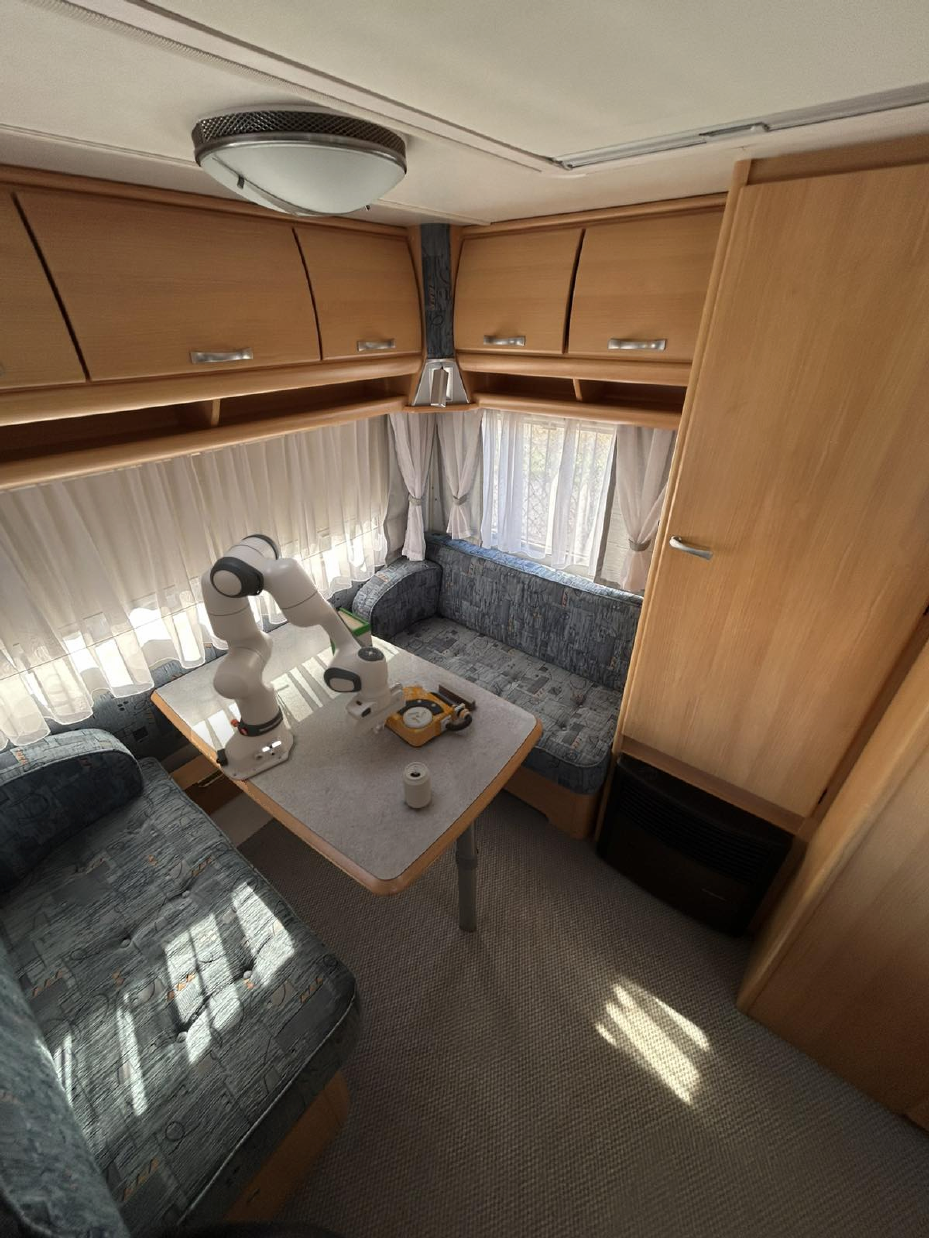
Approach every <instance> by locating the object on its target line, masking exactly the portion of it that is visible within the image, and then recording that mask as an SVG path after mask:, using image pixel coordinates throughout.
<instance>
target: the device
mask: <svg viewBox="0 0 929 1238" xmlns="http://www.w3.org/2000/svg"><path fill="white" fill-rule="evenodd" d="M403 693H404V697H405V702H406V704H405V706H404V707H403V708H402V709H400V710H399V711H397V712H396V713H394V714H393V715H391V716H390V717H388V718H387V720H386V723H385V725H386V726H387V727H389V728H390V729H391V730H392V731H393V732H394V733H396V735H398V736H400V737H401V738H402V739H404V740H405V741H406V742H407V743H408V744H410V745H412V746H414V747H418V746H421V745H424V744H426V742H428V741H429V740H431V739H433V738H434V737H437V736H438V735H440V734H441V733H443V732H444V731H446V730H448V731H451V732H460V731H463V730H465V729H466V728H468V727H470V725H471V724H472V723H473V717H472V714H471V712H470V710H468V709H467V708H465V704H463V703H462V704H458V705H455V704H454V703H452V702H451V701H449V700H448V699H447V698H445V697H444V696H442V695H441V694H440V693H438V692H435V691H427V690H425V689H423V687H422V685H421V684H419V683H418V684H416V685H414V686H406V687H403ZM457 720H460V721H461V722H460V723H457V724H456V721H457Z"/></svg>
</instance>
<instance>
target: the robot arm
mask: <svg viewBox="0 0 929 1238" xmlns="http://www.w3.org/2000/svg"><path fill="white" fill-rule="evenodd" d="M200 586H201V596H202V600H203V604H204V608H205V611H206V615H207V618H208V621H209V623H210V626H211V630H212V633H213V635H214V636H215V637H216V638H217V639H218V640H222V641H225V643H226V644H227V653H226V655H225V656H224V658H223V660H221V662H220V664H219V665H218V666H217V668H216V671H215V674H214V676H213V681H212V686H213V689H214V691H215V692H216V693H217V694H218V695H219V696H221V697H222V698H225V699H227V700H232V701H234V702H235V703H236V707H237V709H238V712H239V715H240V719H239V721H238V719H237V718H233V719H231V721H230V725H231V726H232V727H233V728H237V729H236V731H235V732H234V733H233V735H231V737H230V738H229V739H228V741H227V742H226V743H225V746H224V747H223V748H221V749H218V750H216V754H217V758H216V760H215V763H216V764H218V765H219V766H220V769H221V770H222V772H223V774H225V775H226V776H227V777H228V778H229V779H231V780H234V781H236V782H242V781H244V780H246V779H248V778H251V777H253V776H255V775H257V774H259V773H261V772H264V771H265V770H268V769H270V768H273V767H274V766H277V765H278V764H281V763H284V762H285V761H286V760H288V758H289V753H290V750H291V749H292V747H293V744H294V737H293V735H292V733H291V732H290V730H289V729H288V728H287V726H286V724H285V721H284V714H283V710H282V708H281V706H280V704H279V702H278V699H277V696H276V693H275V689H274V687H273V686H272V685H271V684H269V683H266V682H264V681H263V673H264V671H265V669H266V667H267V665H268V663H269V661H270V660H271V657H272V654H273V650H274V641H273V638H272V637H271V636H270V635H269V634H268V633H267V632H265V631H263V630H261V629H260V628H259V626H258V624H257V621H256V619H255V615H254V611H253V608H252V607H253V606H252V604H251V600H250V597H258V596H260V595H261V594H262V592H263V591H265V592H267V593H268V594H269V595H270V597H272V598H273V600H274V602H275V603H276V605H277V607H278V609H279V610H280V612H281V613H282V615H283V616H284V618H285V619H286V621H288V622H289V623H290V624H291V625H292V626H294V627H297V628H301V629H302V628H303V629H307V628H312V627H315V626H320V627H321V628H322V629H323V631H324V632H325V633H326V634H327V636H328V637H330V638H331V640H332V641H333V642H334V644H335V653H334V656H333V655H332V658H331V659H330V661H329V663H328V664H327V666H326V668H325V670H324V672H323V675H322V677H323V681H324V683H325V685H326V686H327V688H329V689H330V690H331V691H333V692H335V693H339V694H350V693H352V694H353V693H356V694H355V695H354V696H353V697H352V698H351V700H349V701H348V702H347V703H346V704H345V710H346V711H347V713H346V714H345V715H346V716H345V726H346V732H347V733H348V735H350V736H351V737H353V738H355V739H357V738H359V737H360V736H362V735H363V734H365V733H366V732H368V731H370V730H371V729H372V730H373V733H375V734H376V735H378V734H379V733H381V732H382V731H384V730H385V725H386V724H385V723H386V720H387V718H388V717H390V716H391V715H393V714H394V713H396V712H397V711H399V710H400V709H402V708H403V707H404V706H405V704H406V702H405V697H404V693H403V689H404V686H403V684H402V683H401V682H399V683H398V682H397V683H394V684H393V685H391V686H390V683H389V681H388V680H389V668H388V662H387V658H386V655H385V654H384V652H383V651H382V650H381V649H379V648H378V647H376V646H373V647H366V645H365V644H364V643H363V642H362V641H360V640H359V639H358V638H357V637H356V636H355V635H354V634H353V633H352V631H351V630H350V628H349V627H348V626H347V624H346V623H345V621H344V620H343V618H342V617H341V616H340V614H339V613H338V612H339V611H338V610H337V609H336V607H335V606H334V604H332V603H331V602H330V601H328V600H327V599H325V597H324V596H323V594H322V593H321V592H320V590H319V588H318V586H317V585H316V583H315V581H314V580H313V577H311V576H310V574H309V572H308V571H307V570H306V569H305V568H304V566H303V565H302V564H301V563H300V562H299V561H298V560H297V559H295V558H293V557H281V558H280V549H279V546H278V545H277V543H276V542H275V541H274V540H273V539H272V538H271V537H270V536H267V535H266V534H261V533H255V534H250V535H247V536H245V537H244V538H243V539H241V540H240V541H239V542H237V543H235V544H234V545H232V546H231V547H229V549H228V550H227V551H226V552H225V553H224V554H223V555H222V557H220V558H219V559H217V560H216V561H215V562H214V564H213V566H212V567H211V568H209V569H207V570H206V571H204V572H203V574H202V576H201V578H200ZM330 638H329V639H330Z"/></svg>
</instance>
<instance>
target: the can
mask: <svg viewBox="0 0 929 1238" xmlns="http://www.w3.org/2000/svg"><path fill="white" fill-rule="evenodd" d="M402 782H403V783H402V784H403V789H404V790H403V791H404V799H405V802H406V804H407V805H408V806H409V807H410V808H413V809H419V808H423V807H426V806H427V805H428V804H430V801H431V799H432V788H431V775H430V770H429V768H428V767H427V766H426V765H425V764H424V763H422V762H418V761H415V762H410V763H408V765H406V766H405V768H404V770H403V772H402Z"/></svg>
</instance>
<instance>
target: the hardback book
mask: <svg viewBox="0 0 929 1238" xmlns="http://www.w3.org/2000/svg"><path fill="white" fill-rule="evenodd" d="M338 613H339V614H340V616H341V617H342V618H343V620H344V621H345V623H346V624H347V626H348V627H349V628H350V630H351V631H352V633H353V634H354V635H355V636H356V637H357V638H358V639H359V640H360V641H362V642H363V643H364V644H365V645H366V647H374V645H373V638H372V631H371V630H372V629H371V624H370V622H367V621H366V620H365V619H362V618H361V617H359V616H357V615H356V614H354V613H352V612H350V611H348V610H347V609H346V608H343V607H339V611H338ZM328 637H329V636H328ZM328 639H329V642H330V648H331V652H332V657H333V656H334V653H335V644H334V642H333V641H332V640H331V638H330V637H329V638H328Z"/></svg>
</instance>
